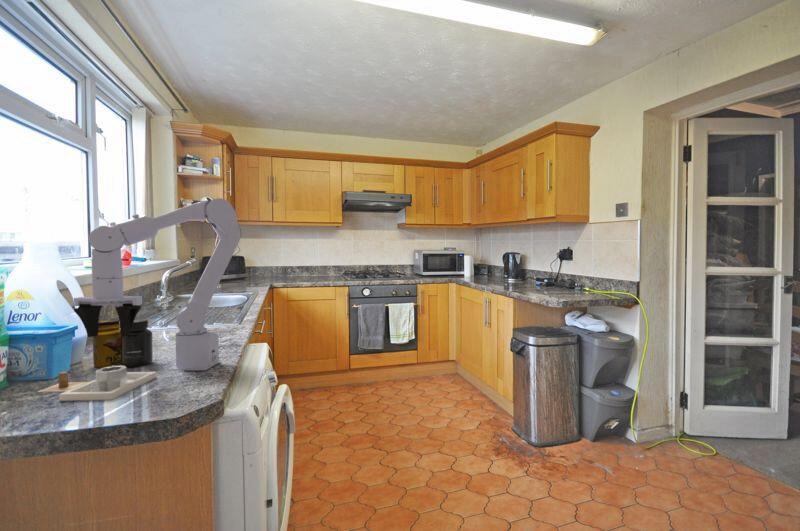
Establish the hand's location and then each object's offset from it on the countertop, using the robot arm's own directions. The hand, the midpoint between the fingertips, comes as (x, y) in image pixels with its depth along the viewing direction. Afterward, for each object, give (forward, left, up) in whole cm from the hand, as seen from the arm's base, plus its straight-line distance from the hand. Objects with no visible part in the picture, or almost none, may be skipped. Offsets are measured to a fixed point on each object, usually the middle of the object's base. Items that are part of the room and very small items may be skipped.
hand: (109, 336), depth 90 cm
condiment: (+9, -10, -10) cm, 17 cm away
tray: (-7, +9, -10) cm, 15 cm away
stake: (+4, +8, -10) cm, 13 cm away
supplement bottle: (0, -10, -10) cm, 14 cm away
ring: (-7, +9, -9) cm, 15 cm away
